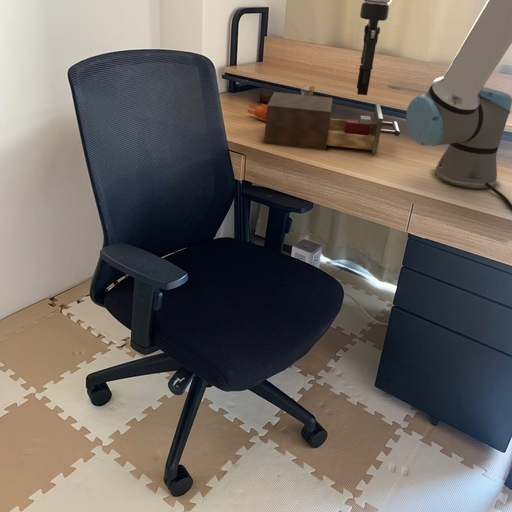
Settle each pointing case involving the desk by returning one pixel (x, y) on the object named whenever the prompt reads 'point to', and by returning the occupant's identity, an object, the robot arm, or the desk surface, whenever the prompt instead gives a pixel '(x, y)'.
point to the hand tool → (265, 97)
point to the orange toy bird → (259, 111)
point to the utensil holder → (309, 90)
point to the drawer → (360, 141)
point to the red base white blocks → (358, 126)
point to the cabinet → (298, 120)
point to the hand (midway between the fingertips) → (361, 91)
